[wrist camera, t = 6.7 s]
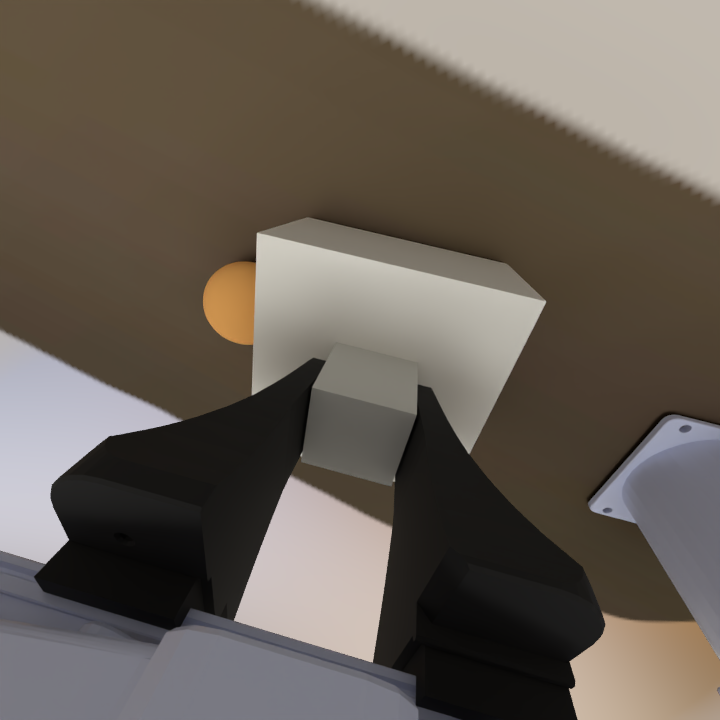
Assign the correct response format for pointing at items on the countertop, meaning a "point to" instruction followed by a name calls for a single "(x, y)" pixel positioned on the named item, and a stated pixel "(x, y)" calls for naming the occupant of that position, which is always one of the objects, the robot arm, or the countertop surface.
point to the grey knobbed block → (384, 336)
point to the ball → (232, 301)
